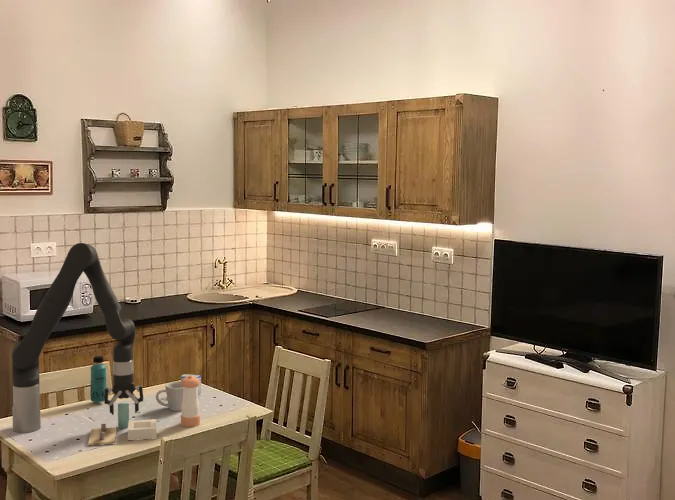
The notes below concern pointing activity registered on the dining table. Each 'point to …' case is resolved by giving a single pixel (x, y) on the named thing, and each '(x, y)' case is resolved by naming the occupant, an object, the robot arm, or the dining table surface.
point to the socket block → (142, 429)
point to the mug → (172, 396)
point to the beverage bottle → (98, 380)
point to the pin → (123, 415)
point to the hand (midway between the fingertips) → (124, 413)
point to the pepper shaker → (190, 402)
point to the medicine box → (196, 377)
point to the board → (106, 436)
